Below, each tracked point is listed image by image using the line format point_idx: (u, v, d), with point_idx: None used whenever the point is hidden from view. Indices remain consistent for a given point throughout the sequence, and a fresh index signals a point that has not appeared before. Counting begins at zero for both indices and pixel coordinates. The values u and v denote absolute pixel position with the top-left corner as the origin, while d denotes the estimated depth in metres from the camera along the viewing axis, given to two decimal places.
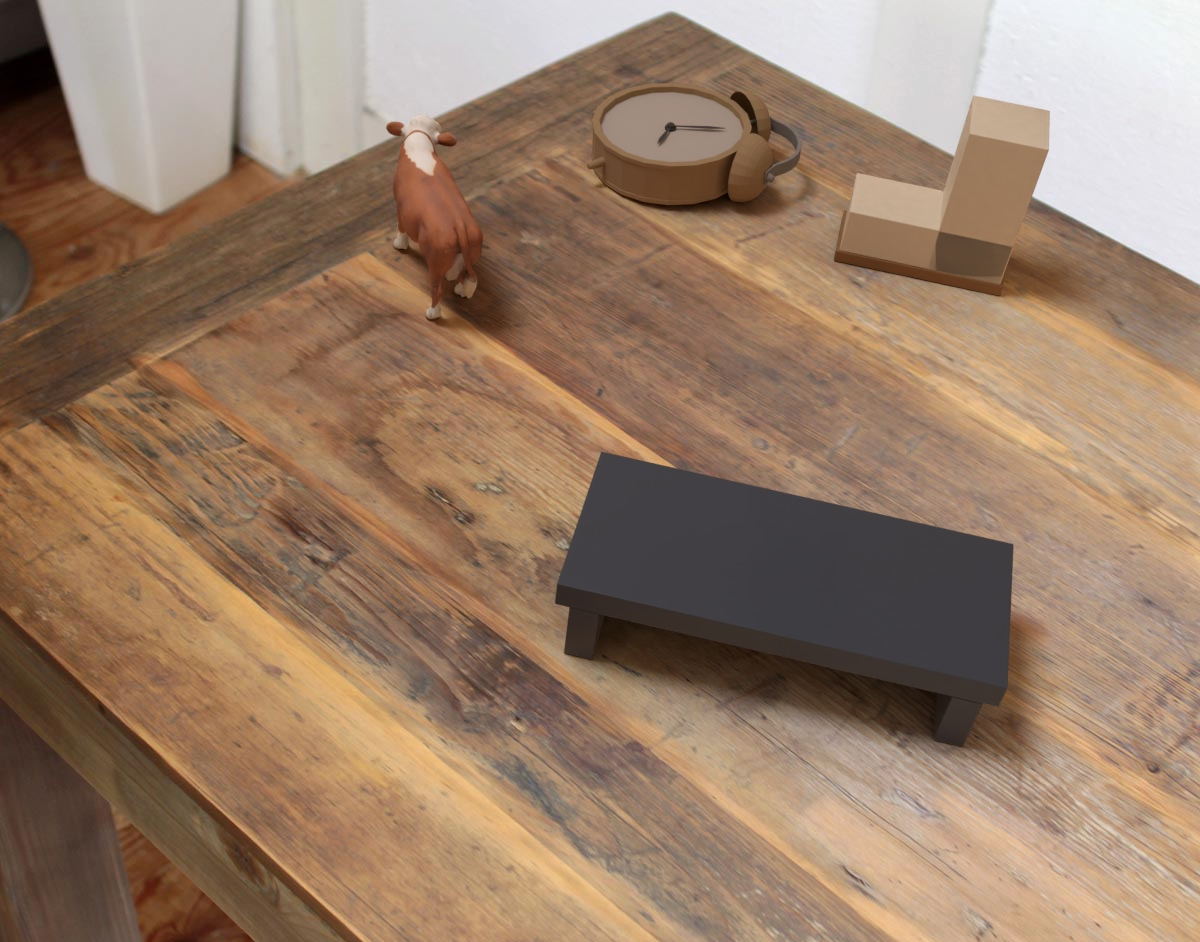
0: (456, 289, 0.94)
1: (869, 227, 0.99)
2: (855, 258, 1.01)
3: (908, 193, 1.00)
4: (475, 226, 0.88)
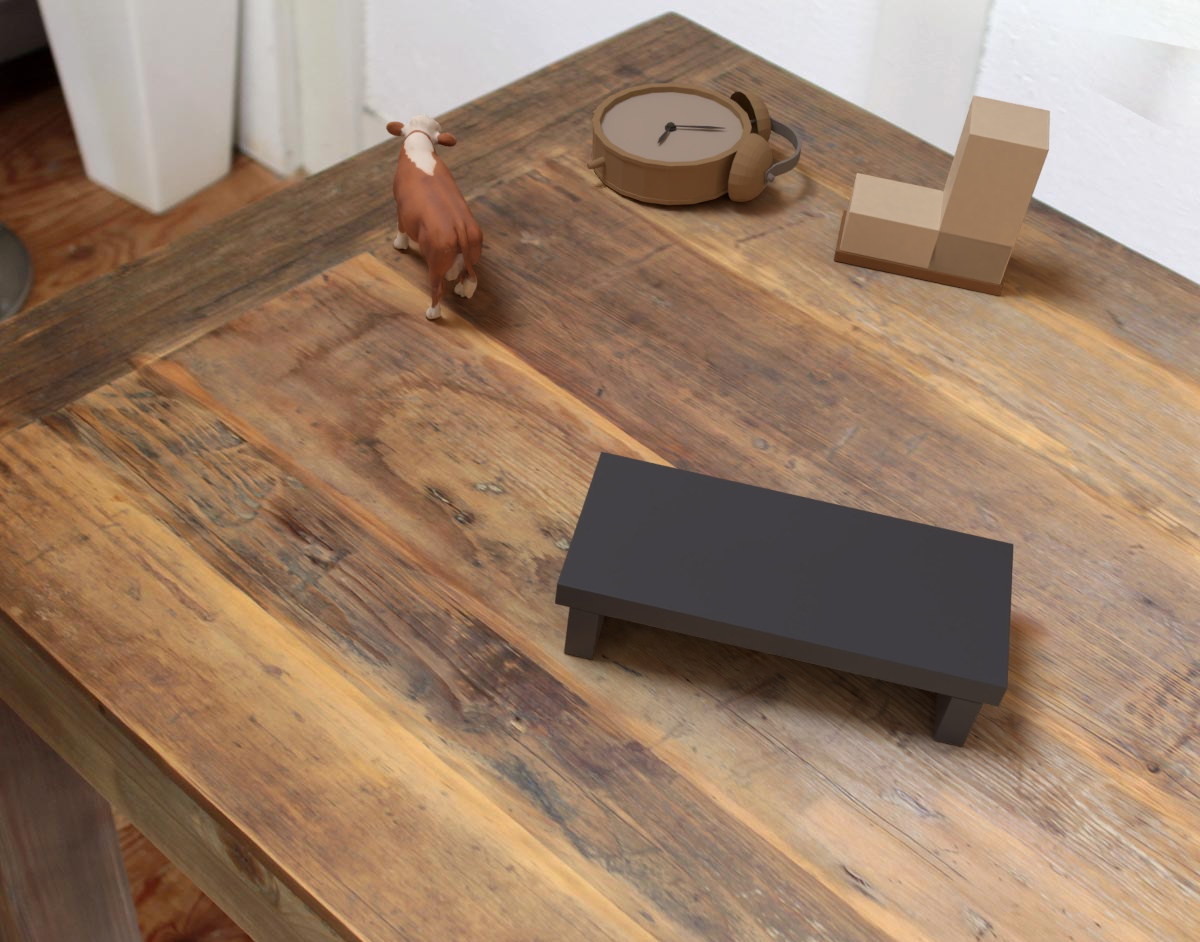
0: (456, 289, 0.94)
1: (869, 227, 0.99)
2: (855, 258, 1.01)
3: (908, 193, 1.00)
4: (475, 226, 0.88)
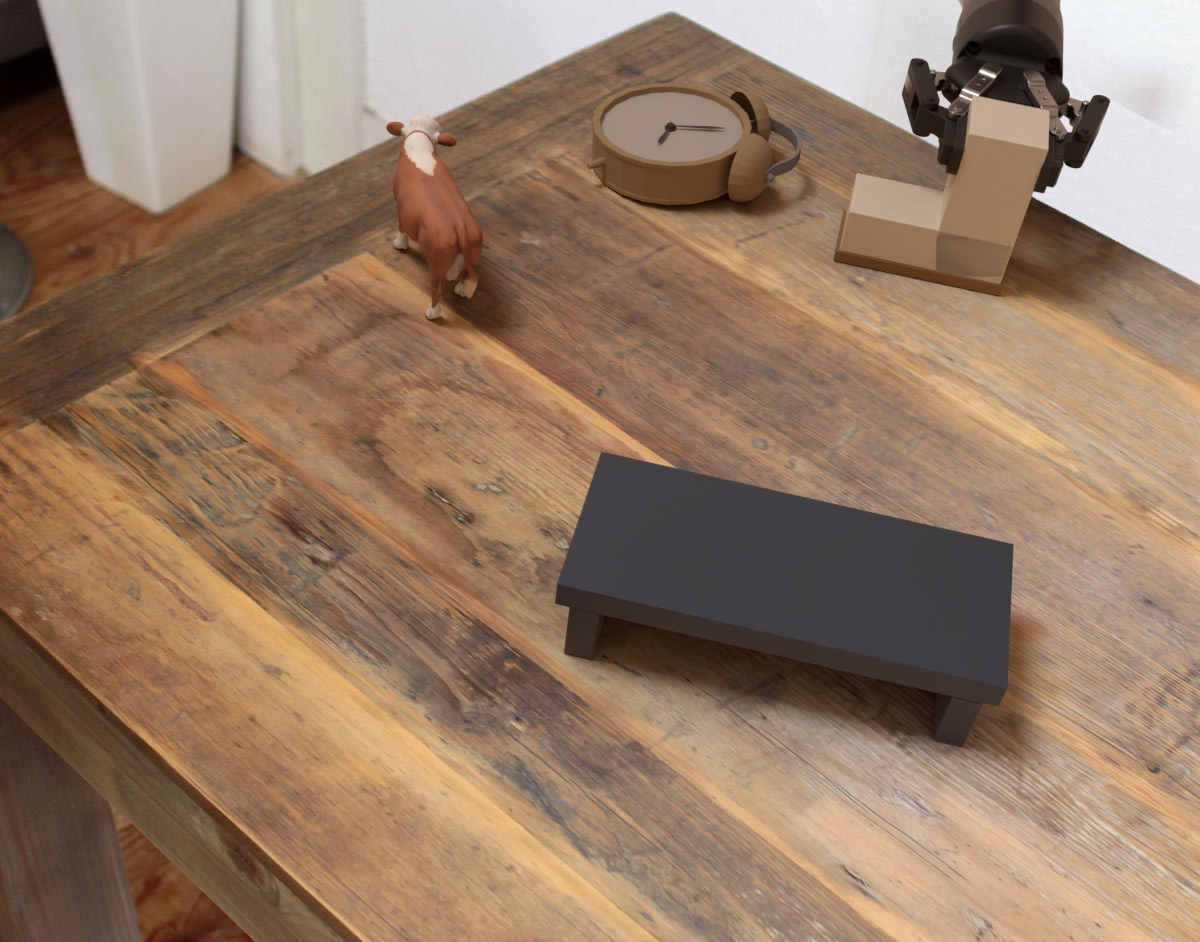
0: (456, 289, 0.94)
1: (869, 227, 0.99)
2: (855, 258, 1.01)
3: (908, 193, 1.00)
4: (475, 226, 0.88)
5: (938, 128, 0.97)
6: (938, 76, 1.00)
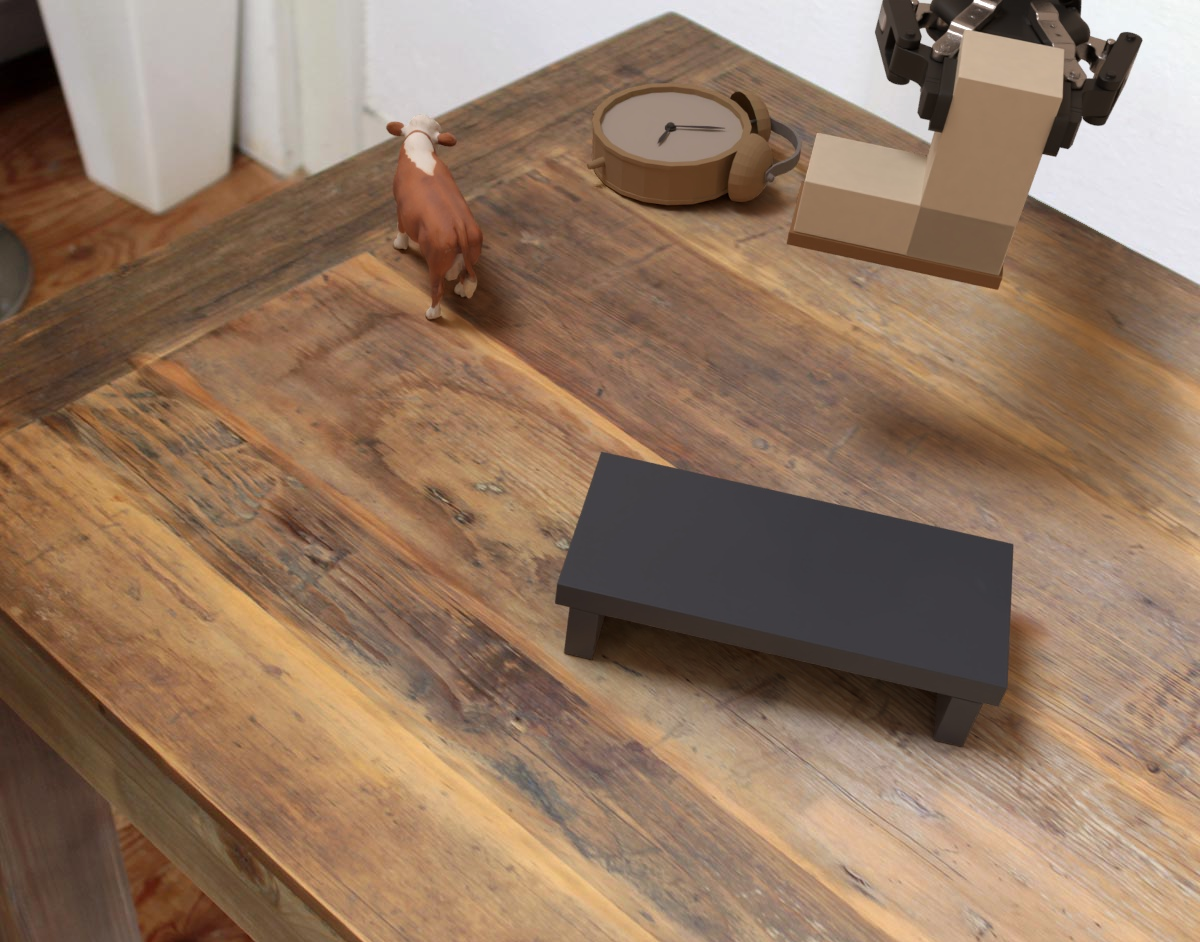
0: (456, 289, 0.94)
1: (830, 201, 0.77)
2: (814, 241, 0.79)
3: (882, 158, 0.78)
4: (475, 226, 0.88)
5: (919, 72, 0.75)
6: (921, 8, 0.78)
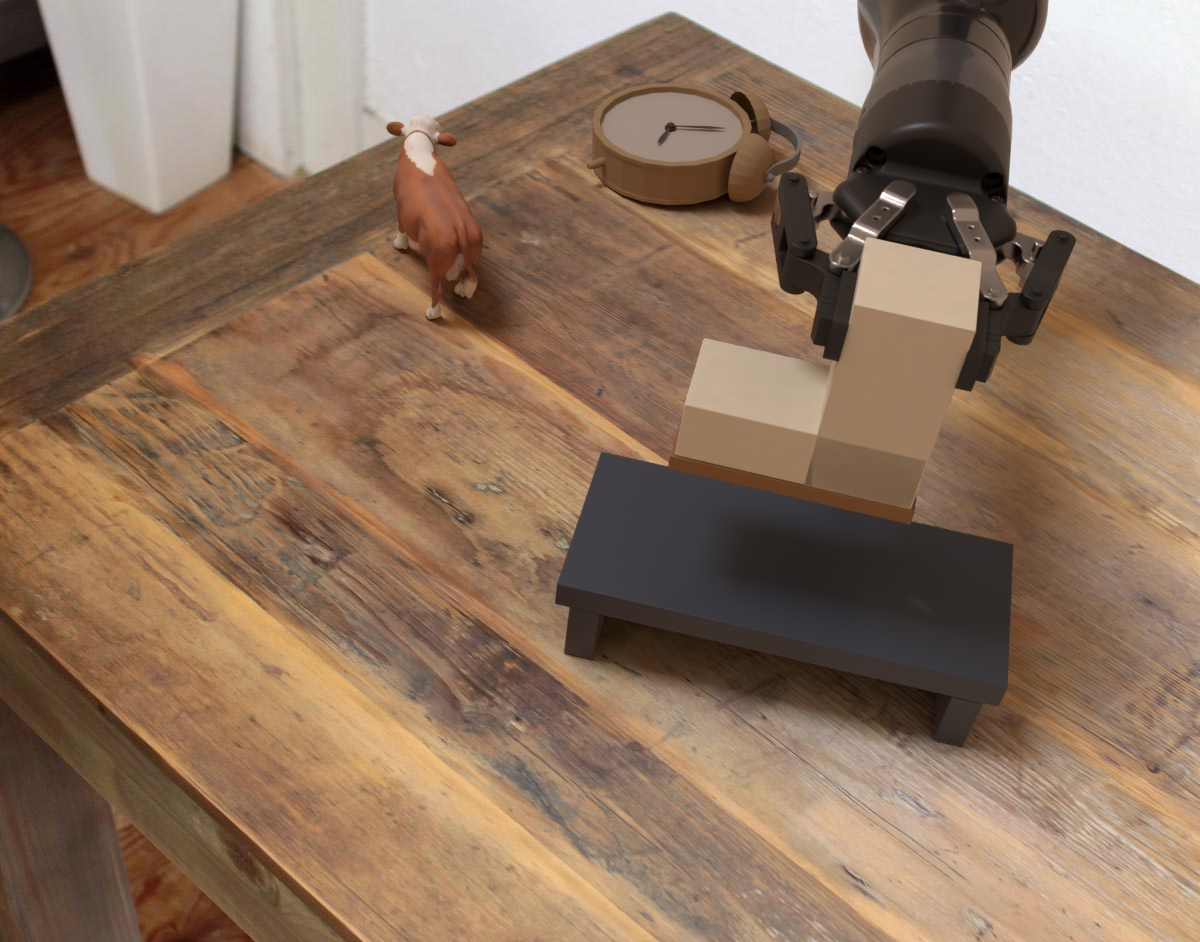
0: (456, 289, 0.94)
1: (715, 427, 0.66)
2: (699, 467, 0.68)
3: (777, 371, 0.68)
4: (475, 226, 0.88)
5: (815, 284, 0.64)
6: (822, 199, 0.68)
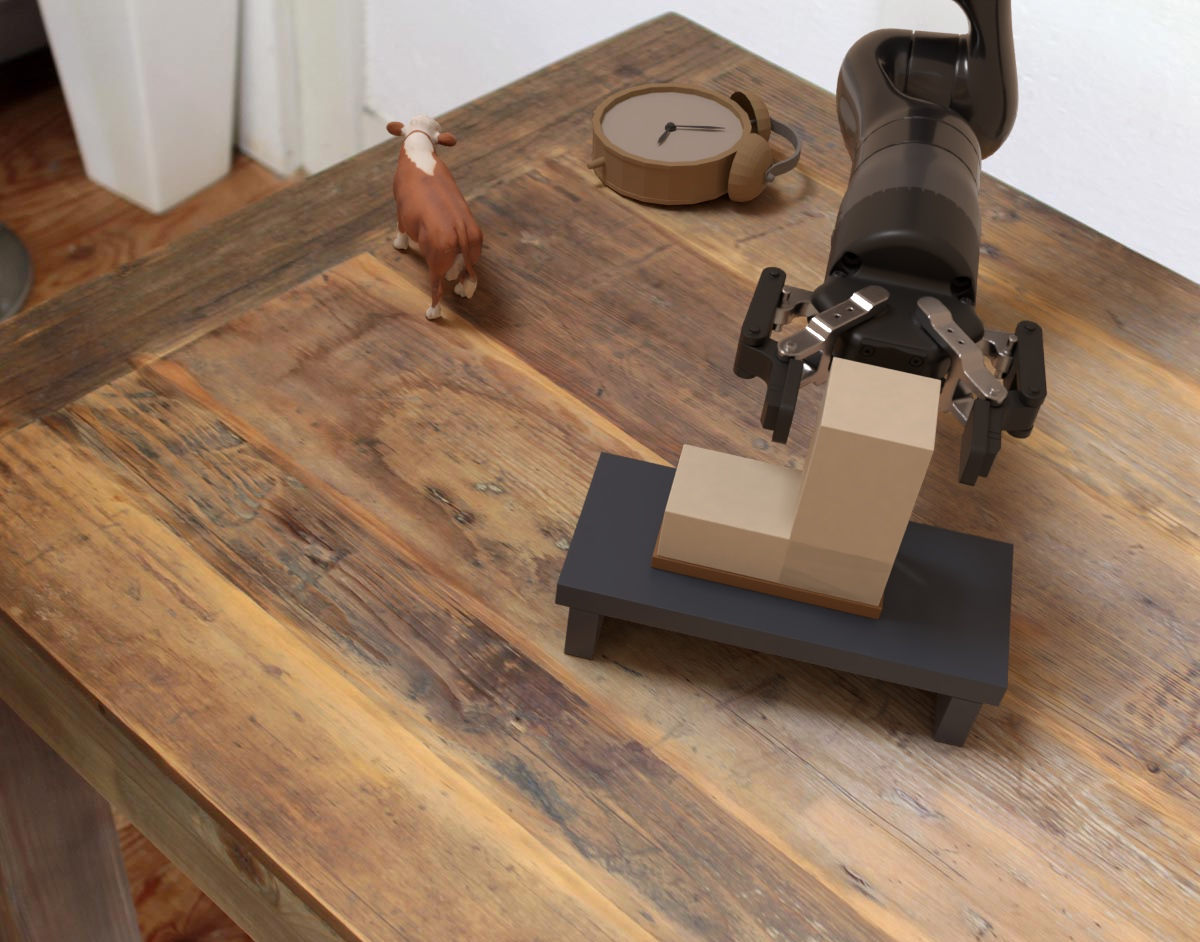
0: (456, 289, 0.94)
1: (694, 531, 0.71)
2: (679, 566, 0.73)
3: (752, 476, 0.72)
4: (475, 226, 0.88)
5: (765, 370, 0.69)
6: (799, 296, 0.72)
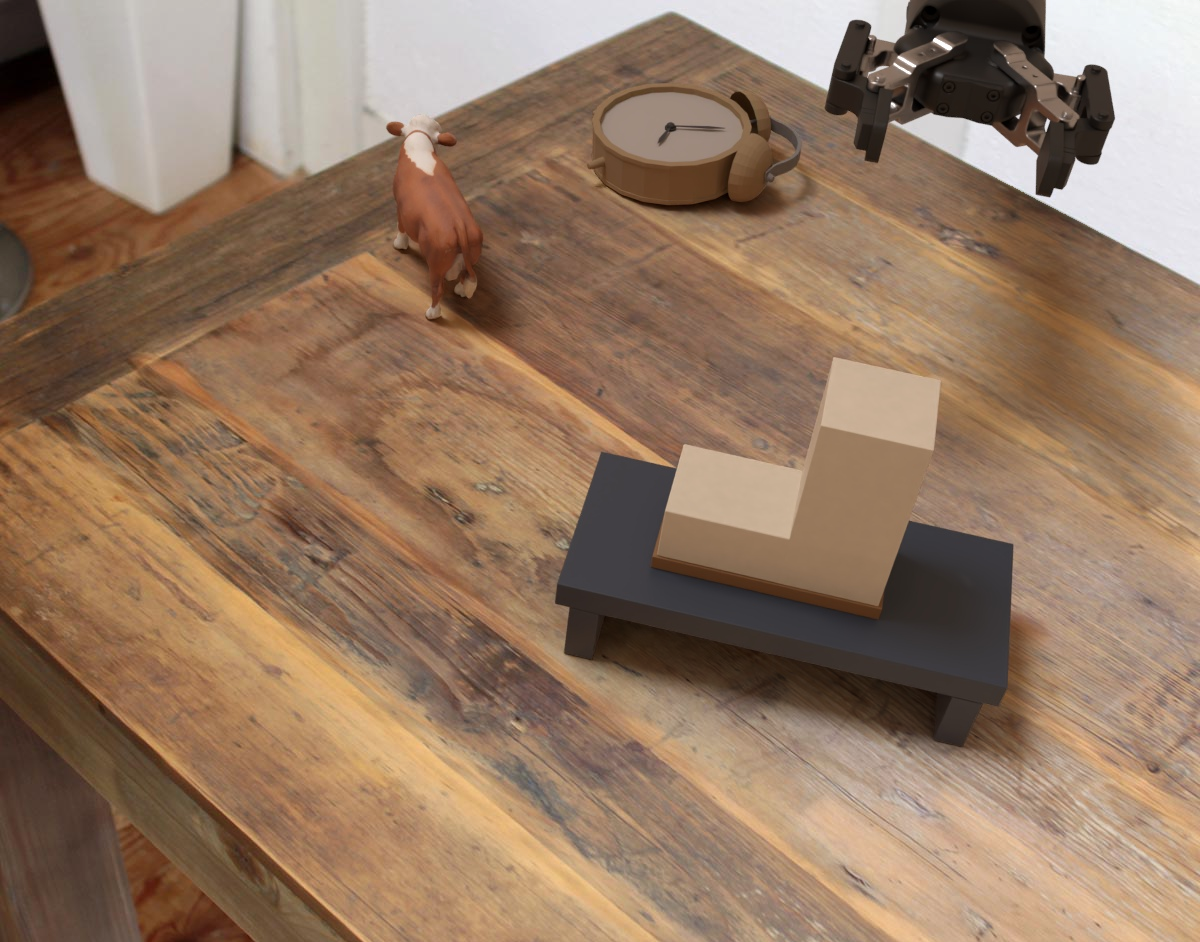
0: (456, 289, 0.94)
1: (694, 531, 0.71)
2: (679, 566, 0.73)
3: (752, 476, 0.72)
4: (475, 226, 0.88)
5: (856, 103, 0.75)
6: (883, 46, 0.79)
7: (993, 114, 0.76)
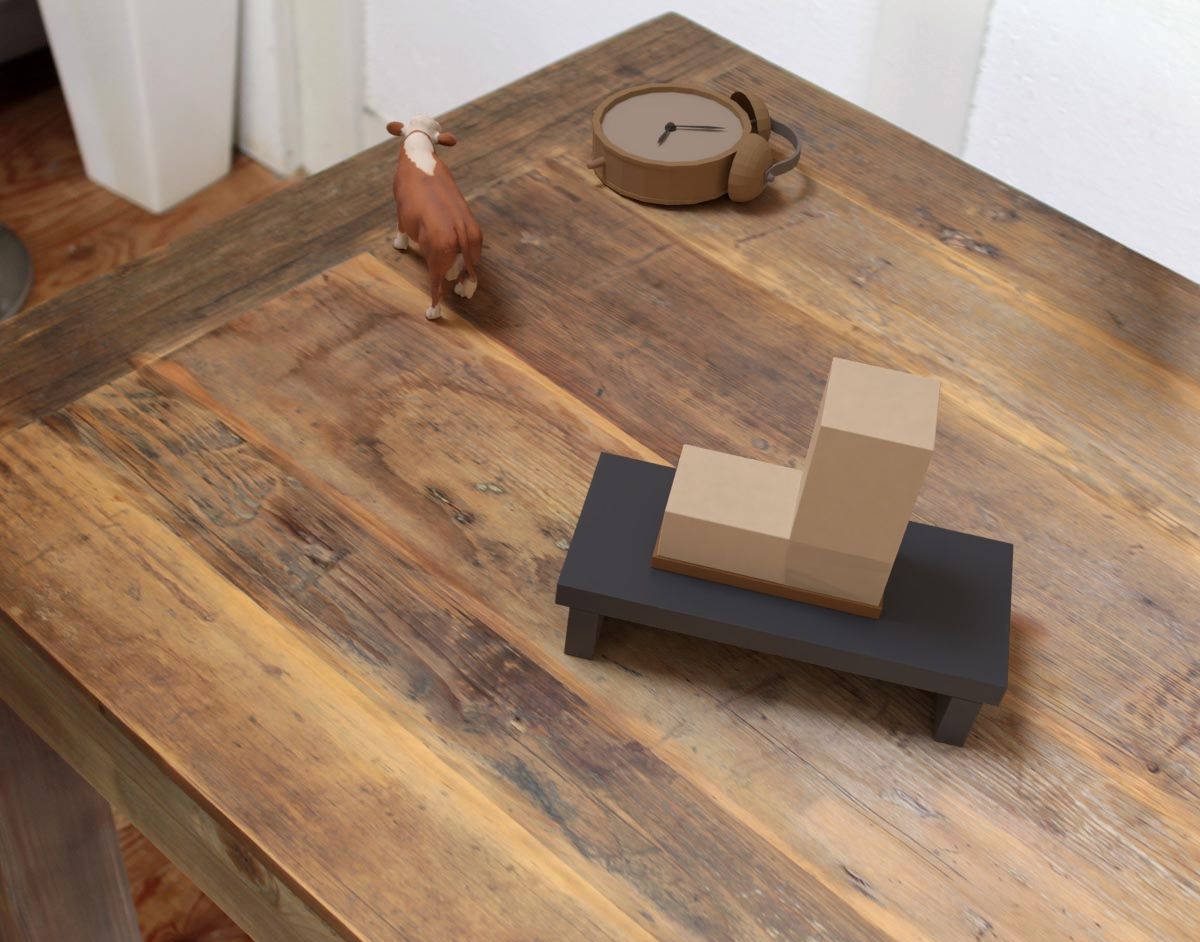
0: (456, 289, 0.94)
1: (694, 531, 0.71)
2: (679, 566, 0.73)
3: (752, 476, 0.72)
4: (475, 226, 0.88)
5: None
6: None
7: None
